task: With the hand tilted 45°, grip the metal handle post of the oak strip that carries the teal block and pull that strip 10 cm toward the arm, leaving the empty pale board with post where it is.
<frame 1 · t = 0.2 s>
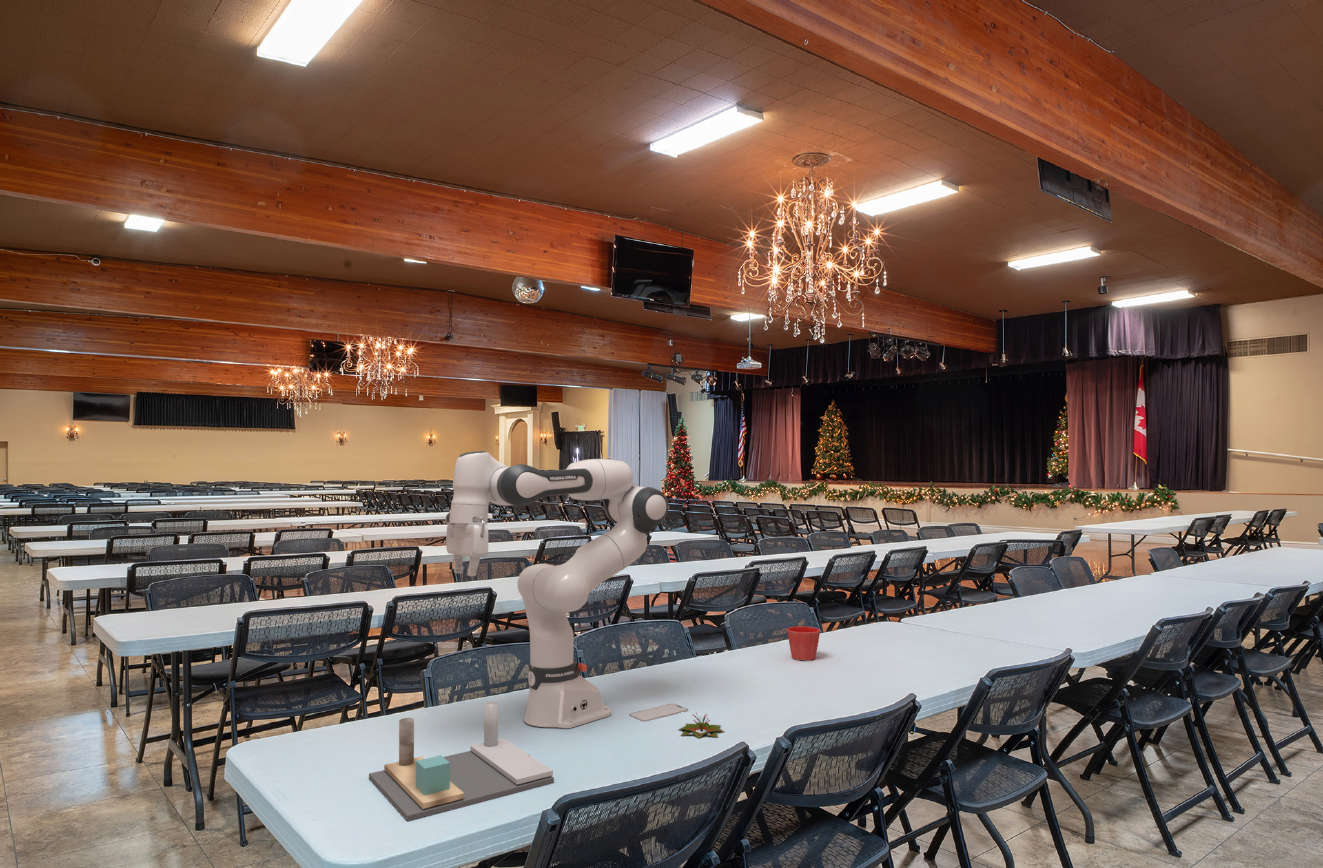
hand: (464, 574, 192), 39 cm above the table, tool pointing down, fingers open, 8 cm apart
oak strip: (422, 757, 160), point 6 cm above the table, slide at 0.0 cm, touching teal block
teal block: (432, 787, 155), point 2 cm above the table, touching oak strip
flower pot: (803, 658, 267), on the table
pale board with post: (509, 738, 171), point 6 cm above the table, slide at 0.0 cm
lane mat: (460, 780, 165), on the table
lily flower: (701, 733, 194), on the table
smartphone: (658, 714, 209), on the table
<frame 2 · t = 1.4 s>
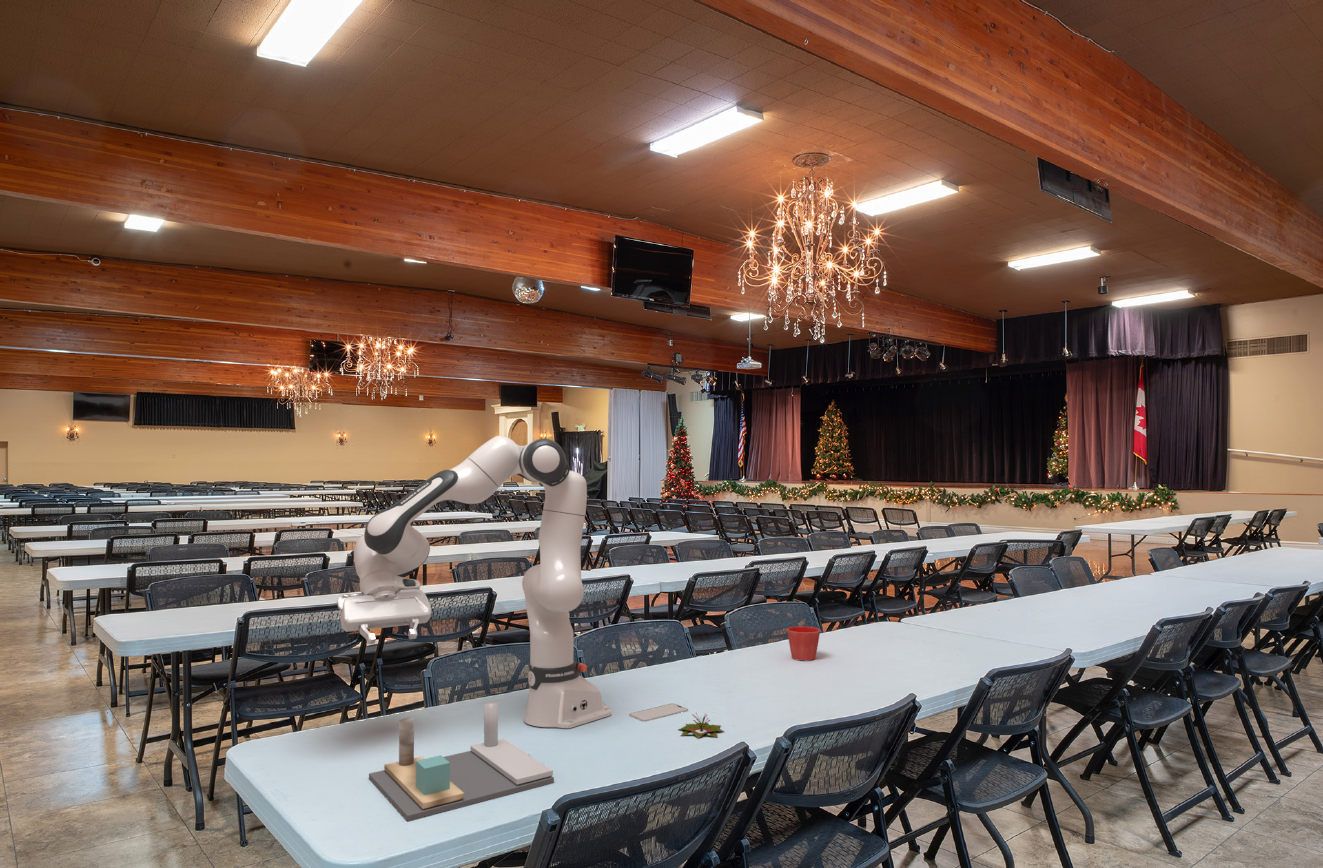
hand: (392, 640, 183), 25 cm above the table, tool tilted 45°, fingers open, 8 cm apart
nothing on the table moved.
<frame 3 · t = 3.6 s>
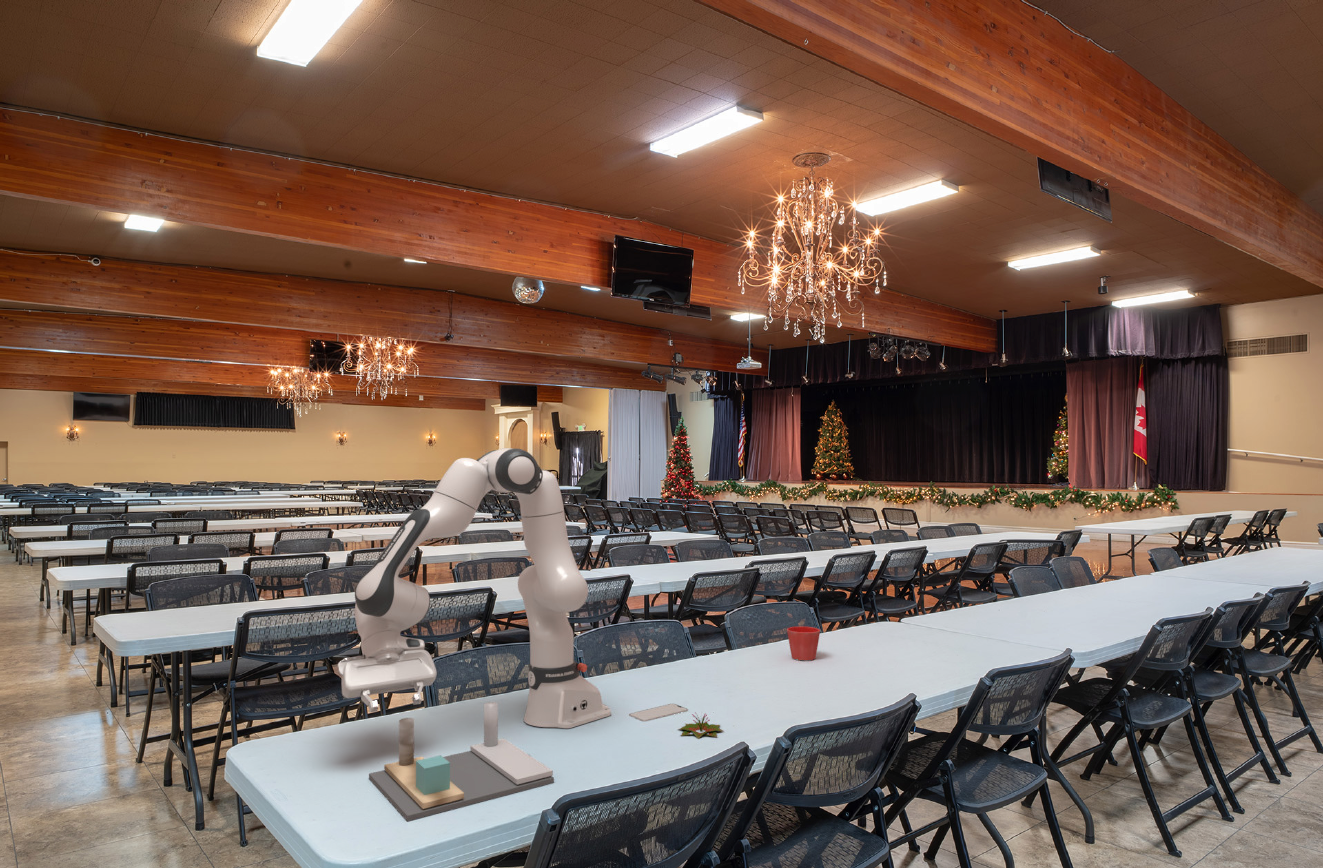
hand: (396, 706, 174), 13 cm above the table, tool tilted 45°, fingers open, 8 cm apart
nothing on the table moved.
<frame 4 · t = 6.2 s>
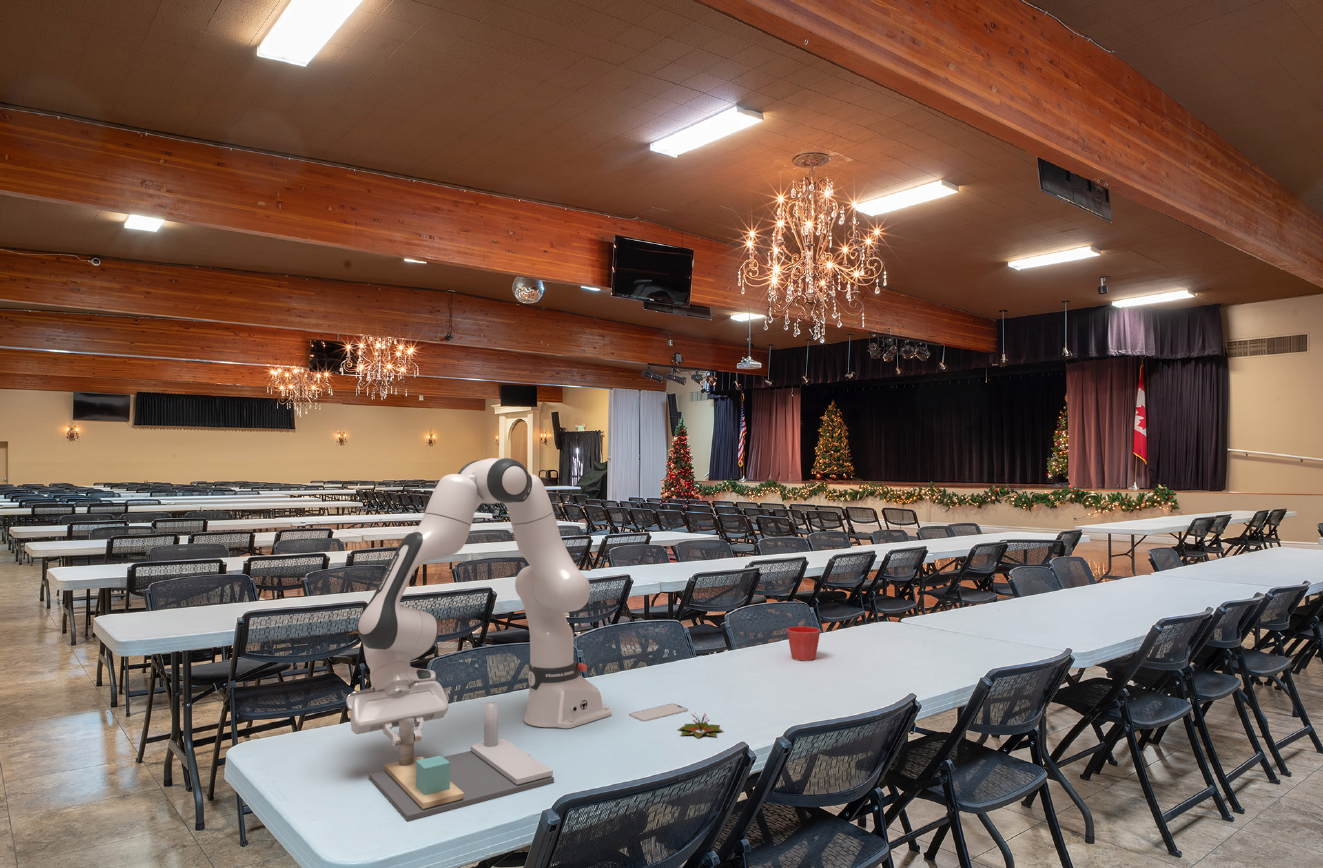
hand: (407, 742, 168), 7 cm above the table, tool tilted 45°, fingers closed on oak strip, 3 cm apart
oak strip: (422, 757, 160), point 6 cm above the table, slide at 0.0 cm, touching gripper, teal block
everything else where it was.
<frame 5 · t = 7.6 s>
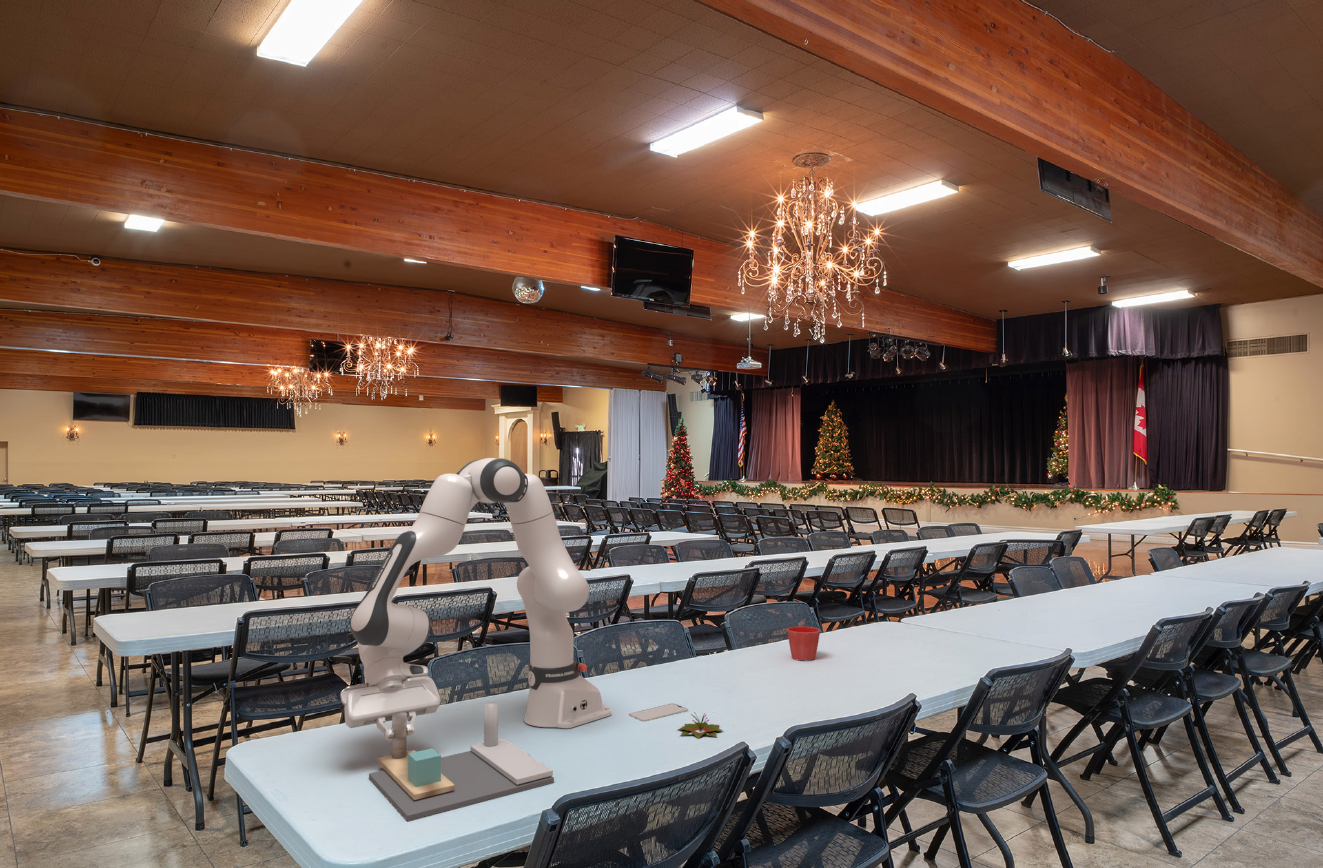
hand: (400, 735, 172), 7 cm above the table, tool tilted 45°, fingers closed on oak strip, 3 cm apart
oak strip: (414, 750, 164), point 6 cm above the table, slide at 4.9 cm, touching gripper, teal block
teal block: (424, 779, 159), point 2 cm above the table, touching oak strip
everything else where it was.
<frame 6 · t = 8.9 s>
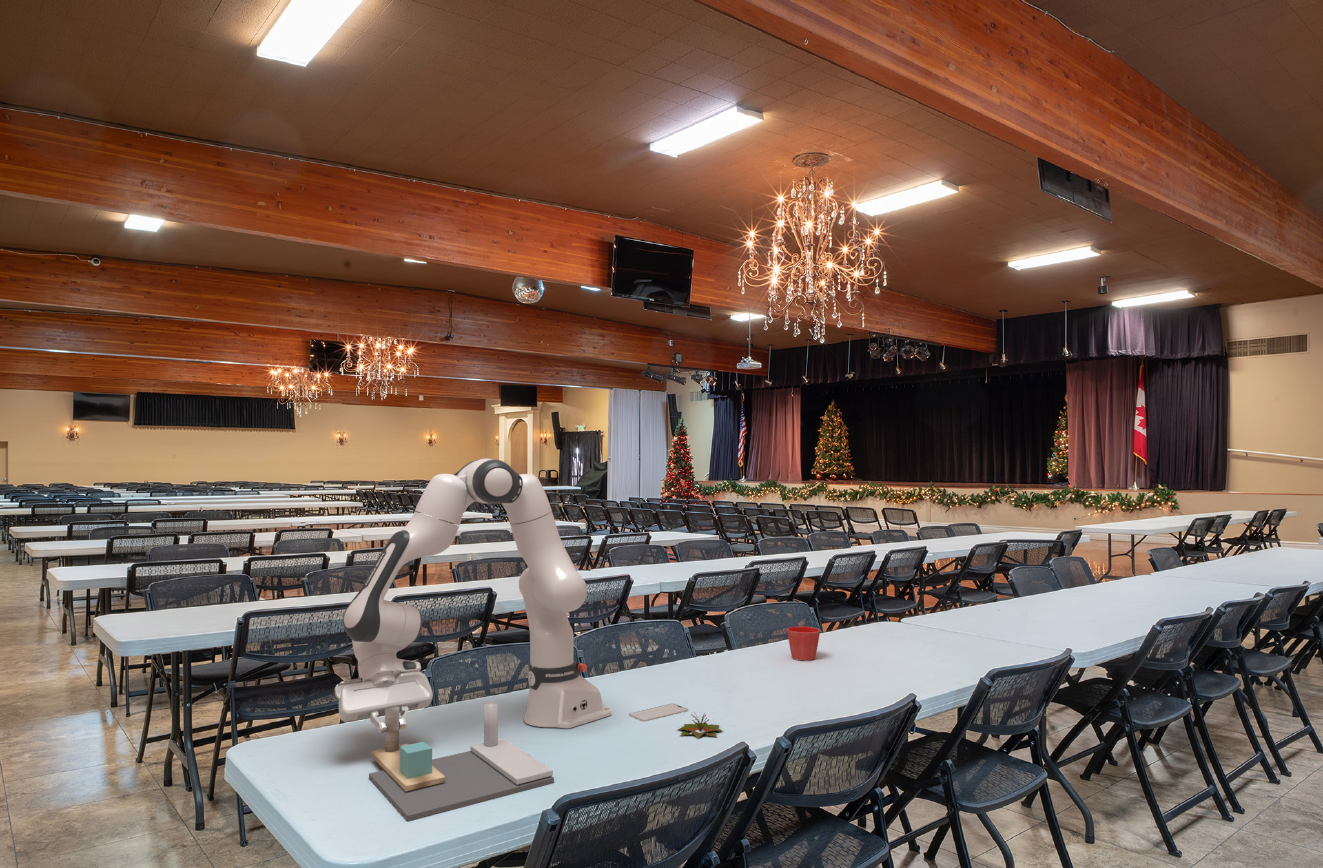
hand: (393, 729, 176), 7 cm above the table, tool tilted 45°, fingers closed on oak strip, 3 cm apart
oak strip: (406, 744, 168), point 6 cm above the table, slide at 9.9 cm, touching gripper, teal block
teal block: (415, 772, 163), point 2 cm above the table, touching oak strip
everything else where it was.
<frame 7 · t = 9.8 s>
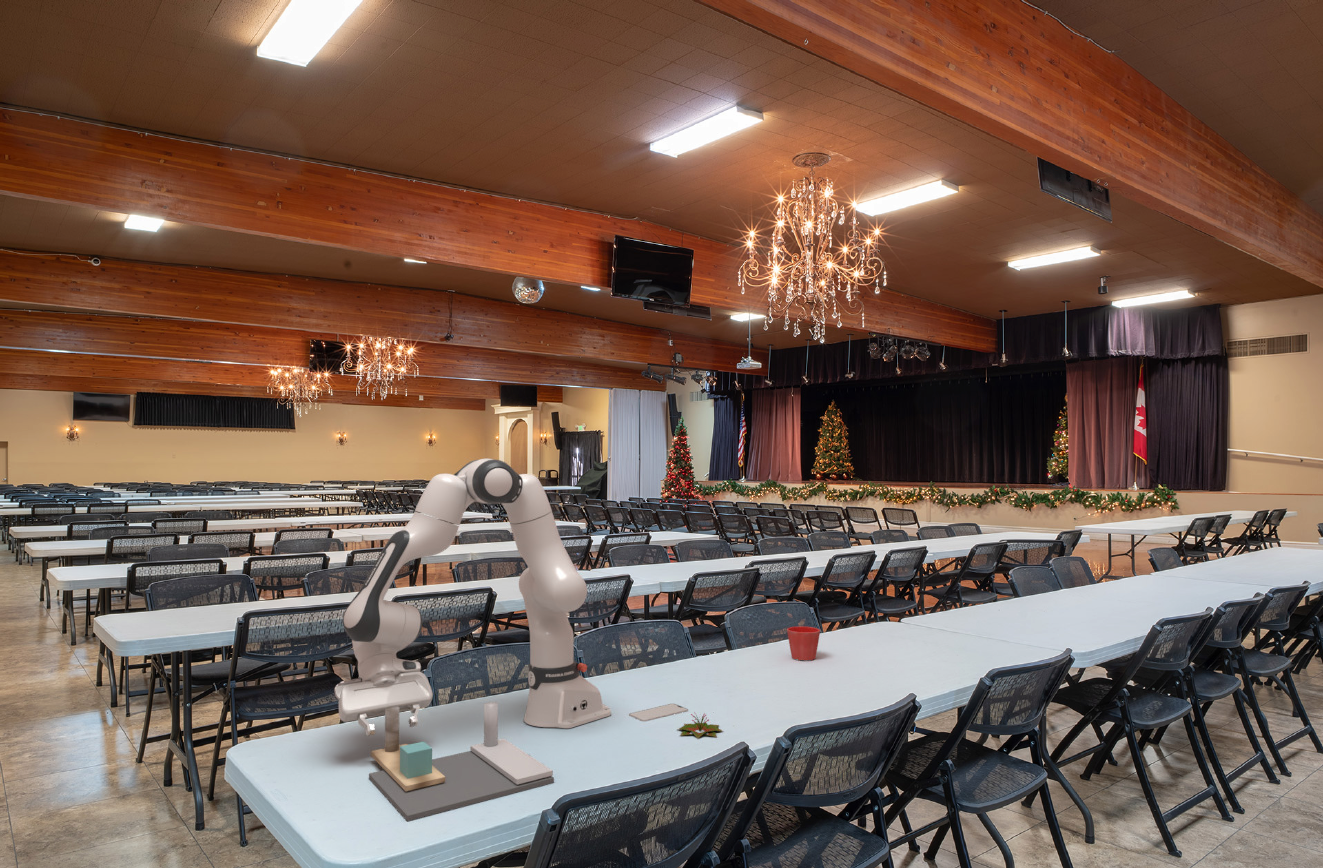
hand: (393, 729, 176), 7 cm above the table, tool tilted 45°, fingers open, 8 cm apart
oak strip: (406, 744, 168), point 6 cm above the table, slide at 9.9 cm, touching teal block
everything else where it was.
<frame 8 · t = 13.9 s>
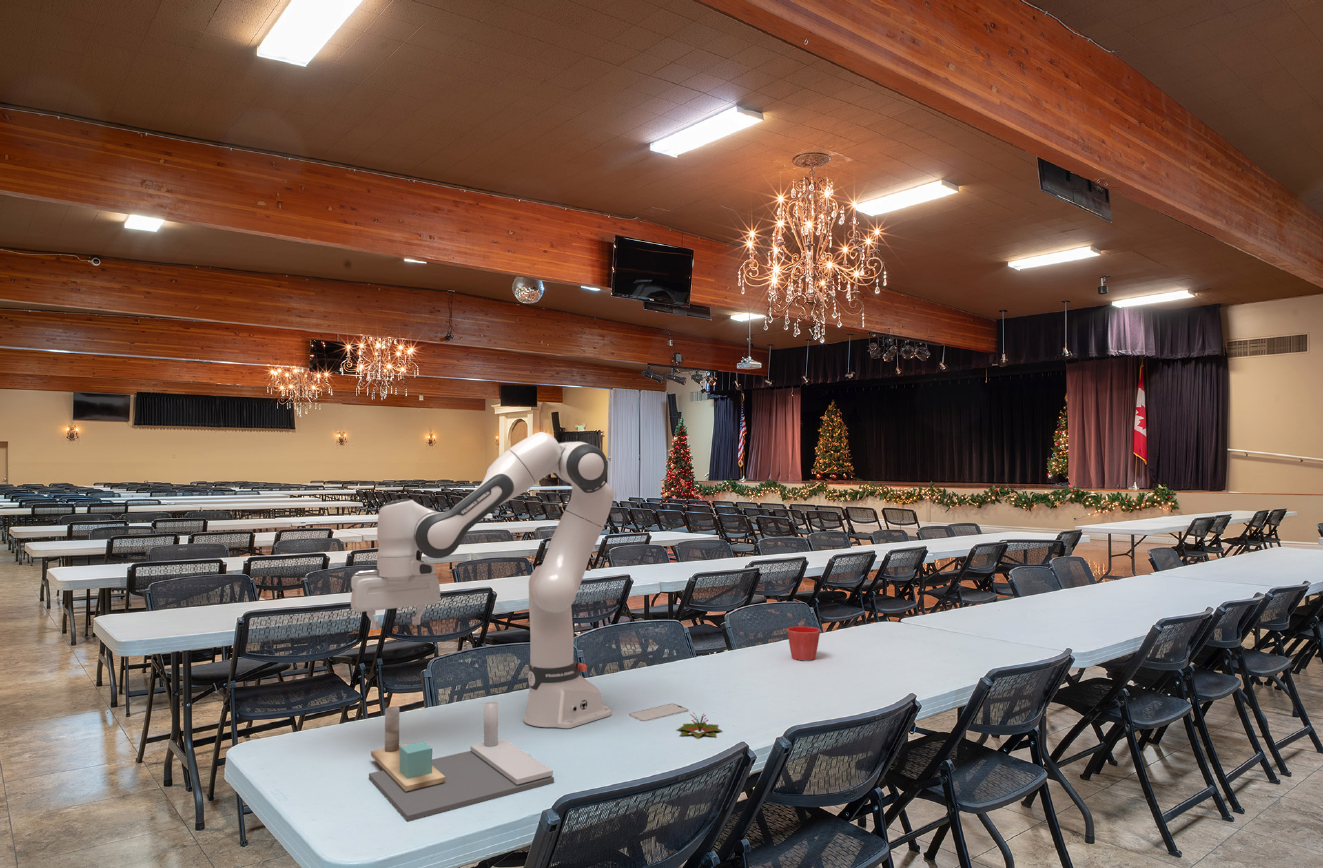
hand: (396, 626, 188), 27 cm above the table, tool pointing down, fingers open, 8 cm apart
nothing on the table moved.
at the end: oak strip slide at 9.9 cm; teal block inside the target area (1.1 cm from its centre), point 2.3 cm above the table; pale board with post slide at 0.0 cm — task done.
